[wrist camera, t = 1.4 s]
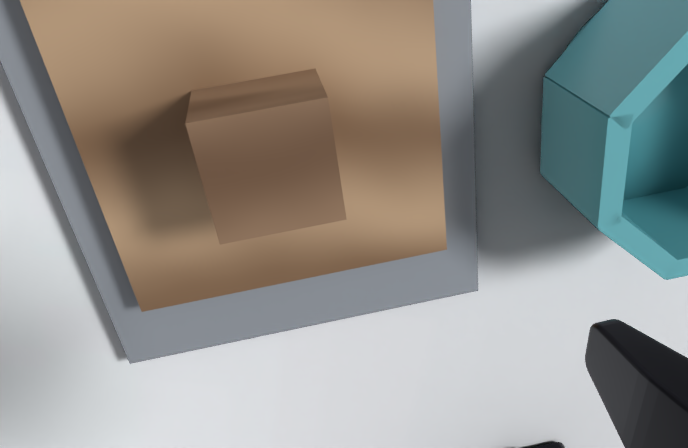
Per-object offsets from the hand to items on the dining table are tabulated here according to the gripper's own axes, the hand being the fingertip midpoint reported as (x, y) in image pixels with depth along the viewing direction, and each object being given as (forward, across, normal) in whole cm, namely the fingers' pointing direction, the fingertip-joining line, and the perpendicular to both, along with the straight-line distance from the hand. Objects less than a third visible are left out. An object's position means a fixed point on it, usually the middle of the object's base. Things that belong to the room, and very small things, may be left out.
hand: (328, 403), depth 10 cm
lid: (+13, 0, +1) cm, 13 cm away
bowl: (+13, -15, +3) cm, 20 cm away
